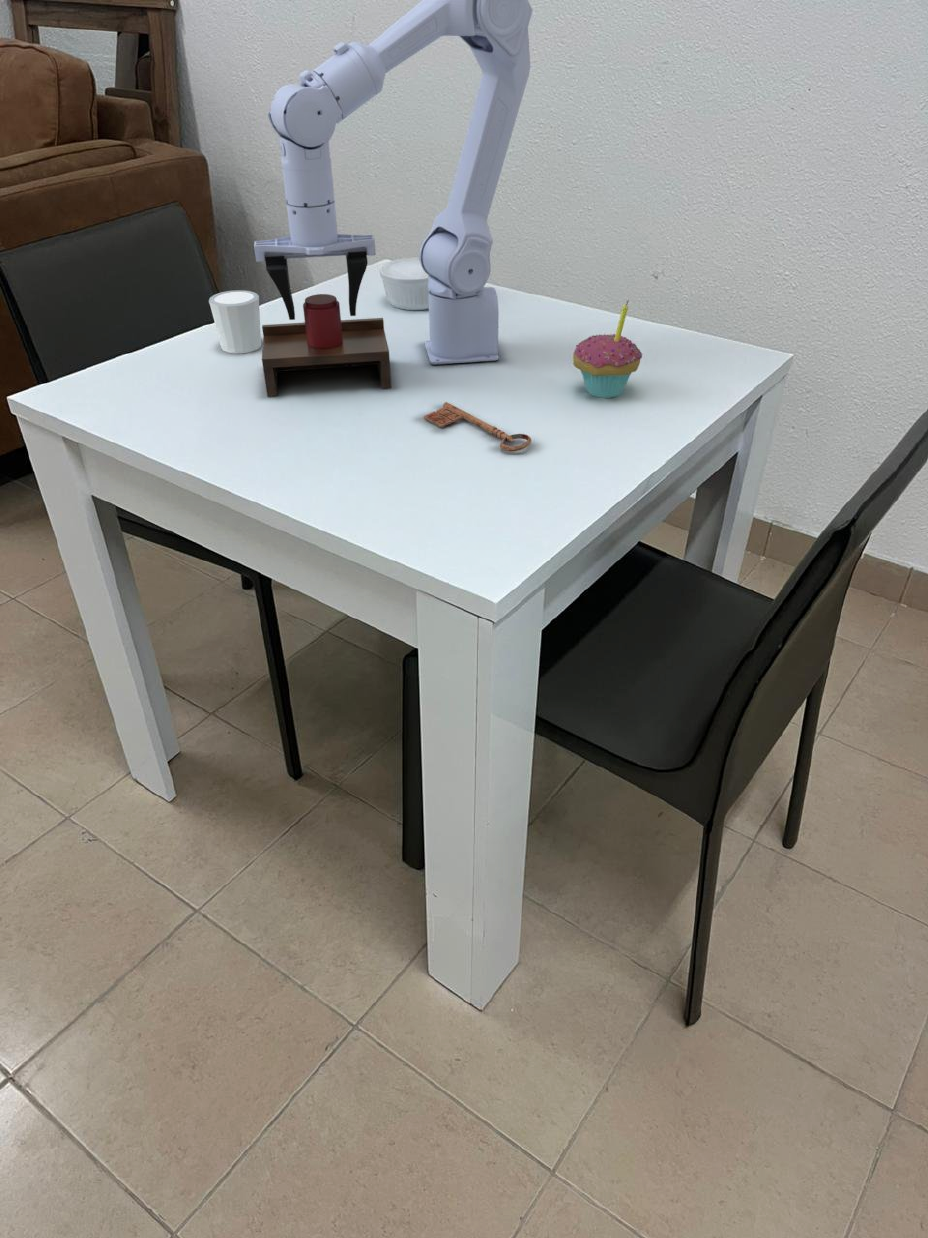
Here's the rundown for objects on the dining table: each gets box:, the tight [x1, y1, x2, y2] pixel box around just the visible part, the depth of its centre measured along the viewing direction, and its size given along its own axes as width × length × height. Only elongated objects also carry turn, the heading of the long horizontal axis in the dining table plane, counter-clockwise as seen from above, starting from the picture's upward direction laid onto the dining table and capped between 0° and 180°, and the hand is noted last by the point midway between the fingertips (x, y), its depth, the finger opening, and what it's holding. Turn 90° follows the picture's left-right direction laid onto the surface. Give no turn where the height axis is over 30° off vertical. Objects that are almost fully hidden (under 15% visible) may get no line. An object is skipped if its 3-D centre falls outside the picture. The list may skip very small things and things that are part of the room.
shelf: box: [261, 317, 392, 398], centre depth 121 cm, size 16×9×6 cm, turn 99°
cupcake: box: [572, 299, 643, 399], centre depth 115 cm, size 9×8×12 cm
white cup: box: [208, 289, 262, 355], centre depth 130 cm, size 7×7×7 cm
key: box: [423, 401, 532, 452], centre depth 110 cm, size 6×1×15 cm
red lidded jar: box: [302, 293, 343, 349], centre depth 118 cm, size 5×5×6 cm
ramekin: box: [379, 256, 429, 311], centre depth 146 cm, size 11×11×5 cm
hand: (322, 315), depth 118 cm, fingers open, 7 cm apart
